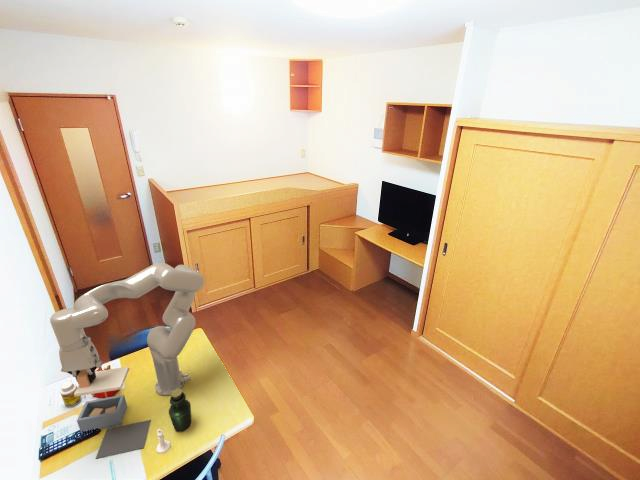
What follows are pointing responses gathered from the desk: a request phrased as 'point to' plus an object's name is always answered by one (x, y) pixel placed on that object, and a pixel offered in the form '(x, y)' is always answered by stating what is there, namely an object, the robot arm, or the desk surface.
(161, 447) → the chess piece
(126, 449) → the rubber mat
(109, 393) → the french fries container
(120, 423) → the parts tub
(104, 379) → the snap lid
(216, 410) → the desk surface
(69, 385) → the supplement bottle
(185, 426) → the potion bottle
